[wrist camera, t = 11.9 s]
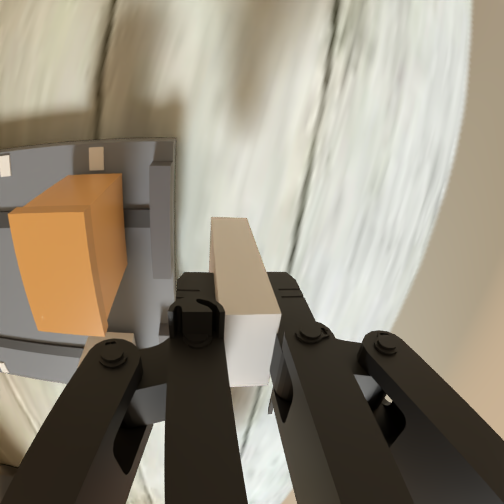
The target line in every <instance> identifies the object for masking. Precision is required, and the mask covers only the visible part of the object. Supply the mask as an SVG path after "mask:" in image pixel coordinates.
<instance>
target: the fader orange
mask: <svg viewBox="0 0 504 504" xmlns="http://www.w3.org/2000/svg"><path fill="white" fill-rule="evenodd" d="M8 219H9V224H10V230H11V235H12V240H13V245H14V249H15V254H16V258H17V262H18V266H19V270H20V274H21V278H22V281H23V285H24V288H25V292H26V295H27V299H28V302H29V305H30V308H31V311H32V314H33V317H34V320H35V323H36V326H37V329H38V331H43V332H53V333H63V334H73V335H85V336H99V337H105V335H106V332H107V329H108V322H107V319H108V316H109V313H110V310H111V307H112V304H113V301H114V299H115V296H116V293H117V290H118V288H119V285H120V282H121V280H122V277H123V274H124V272H125V269H126V267H127V264H128V262H127V252H126V240H125V227H124V211H123V189H122V173H112V174H82V175H68V176H66V177H65V178H63V179H62V180H60V181H59V182H57V183H56V184H54V185H53V186H51V187H50V188H48V189H47V190H45V191H44V192H43V193H41V194H40V195H38V196H37V197H36V198H34V199H33V200H31V201H30V202H29V203H27V204H26V205H25V206H23V207H16V208H15V209H14V210H12V211H11V212H10V213H8Z"/></svg>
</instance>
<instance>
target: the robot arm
mask: <svg viewBox="0 0 504 504" xmlns="http://www.w3.org/2000/svg"><path fill="white" fill-rule="evenodd" d="M168 323H169V338H167V339H166V340H165V341H164V342H162V343H160V344H158V345H156V346H153V347H149V348H144V349H139V350H138V348H137V347H136V346H135V345H134V344H133V343H132V342H129V341H127V340H124V339H116V338H113V339H107V340H103V341H101V342H99V343H97V344H95V345H94V346H93V347H92V348H91V349H90V350H89V352H88V353H87V355H86V356H85V358H84V359H83V361H82V362H81V364H80V365H79V367H78V368H77V370H76V371H75V373H74V374H73V376H72V378H71V379H70V381H69V382H68V384H67V385H66V387H65V389H64V390H63V392H62V393H61V395H60V397H59V398H58V400H57V401H56V403H55V405H54V406H53V408H52V410H51V411H50V413H49V415H48V416H47V418H46V420H45V421H44V423H43V425H42V426H41V428H40V430H39V432H38V433H37V435H36V437H35V439H34V440H33V442H32V444H31V446H30V447H29V449H28V451H27V453H26V455H25V457H24V458H23V460H22V462H21V464H20V466H19V468H15V467H11V466H8V465H0V504H126V501H127V498H128V495H129V492H130V489H131V486H132V483H133V481H134V478H135V475H136V472H137V469H138V466H139V463H140V461H141V458H142V455H143V452H144V449H145V446H146V444H147V441H148V438H149V435H150V433H151V430H152V427H153V423H157V422H161V421H165V504H248V501H247V496H246V490H245V484H244V478H243V472H242V465H241V459H240V453H239V446H238V440H237V433H236V426H235V419H234V412H233V405H232V398H231V391H230V387H244V386H263V385H268V383H269V378H270V374H271V378H272V382H273V389H272V394H271V398H270V403H269V407H268V414H272V411H273V408H274V412H275V416H276V420H277V424H278V428H279V433H280V437H281V441H282V445H283V449H284V453H285V457H286V461H287V465H288V469H289V473H290V477H291V481H292V485H293V489H294V493H295V497H296V501H297V504H504V441H503V440H502V438H501V437H500V436H499V435H498V434H497V433H496V432H495V431H494V430H493V429H492V428H491V427H490V426H489V425H488V424H487V423H486V422H485V421H484V420H483V419H482V418H481V417H480V416H479V415H478V414H477V413H476V412H475V411H474V410H473V409H472V408H471V407H470V406H469V404H468V403H467V402H466V401H465V400H464V399H462V397H460V395H459V394H457V392H455V390H453V388H451V386H449V385H448V384H447V383H446V382H445V381H444V380H443V379H442V378H441V377H440V376H439V375H438V374H437V373H436V372H435V371H434V370H433V369H432V368H431V367H430V366H429V365H428V364H427V363H426V362H425V361H424V360H423V359H422V358H421V357H420V356H419V355H418V354H417V353H416V352H415V351H414V350H412V349H411V348H410V347H409V346H408V345H407V344H406V343H405V342H404V341H403V340H402V339H400V338H399V337H398V336H396V335H395V334H392V333H390V332H387V331H379V330H378V331H371V332H370V333H368V334H366V335H365V337H364V339H363V341H362V343H357V342H350V341H344V340H339V339H336V338H335V336H334V334H333V333H332V332H331V330H330V329H329V328H328V327H326V326H325V325H323V324H322V323H319V322H316V321H315V319H314V317H313V315H312V313H311V311H310V309H309V306H308V304H307V302H306V300H305V298H303V294H302V292H301V290H300V288H299V286H298V284H297V282H296V280H295V279H294V278H293V277H292V276H290V275H289V274H288V273H287V272H266V270H265V267H264V264H263V261H262V258H261V256H260V253H259V250H258V247H257V245H256V242H255V239H254V236H253V234H252V231H251V228H250V226H249V223H248V220H247V218H227V217H211V234H210V260H209V273H206V272H184V273H183V274H182V276H181V277H180V278H179V279H178V280H177V291H176V301H175V302H174V303H172V304H171V305H170V307H169V310H168ZM386 394H387V395H388V396H389V397H390V398H391V399H392V403H390V402H388V401H387V400H386V399H385V396H386Z"/></svg>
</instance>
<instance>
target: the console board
mask: <svg viewBox="0 0 504 504" xmlns="http://www.w3.org/2000/svg"><path fill="white" fill-rule="evenodd" d="M175 153H176V138H127V139H102V140H85V141H72V142H60V143H49V144H40V145H31V146H23V147H16V148H9V149H2V150H0V372H3V373H8V374H12V375H17V376H22V377H28V378H33V379H39V380H45V381H51V382H58V383H65V384H68V382H69V381H70V379H71V378H72V376H73V374H74V373H75V371H76V370H77V367H78V364H79V361H80V358H81V355H82V352H83V350H84V347H85V344H86V341H87V338H88V336H85V335H73V334H63V333H53V332H43V331H38V329H37V326H36V323H35V320H34V317H33V314H32V311H31V308H30V305H29V302H28V299H27V295H26V292H25V288H24V285H23V281H22V278H21V274H20V270H19V266H18V262H17V258H16V254H15V249H14V245H13V240H12V235H11V230H10V224H9V219H8V213H10V212H11V211H12V210H14V209H15V208H16V207H23V206H25V205H26V204H27V203H29V202H30V201H31V200H33V199H34V198H36V197H37V196H38V195H40V194H41V193H43V192H44V191H45V190H47V189H48V188H50V187H51V186H53V185H54V184H56V183H57V182H59V181H60V180H62V179H63V178H65V177H66V176H68V175H82V174H112V173H122V189H123V211H124V227H125V240H126V252H127V262H128V264H127V267H126V269H125V272H124V274H123V277H122V280H121V282H120V285H119V288H118V290H117V293H116V296H115V299H114V301H113V304H112V307H111V310H110V313H109V316H108V319H107V322H108V329H107V332H117V333H134V337H135V343H136V347H137V348H138V350H139V349H144V348H149V347H153V346H156V345H158V344H160V343H162V342H164V341H165V340H166V339H167V338H169V323H168V310H169V307H170V305H171V304H172V303H174V302H175V301H176V281H175V238H174V195H175Z"/></svg>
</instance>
